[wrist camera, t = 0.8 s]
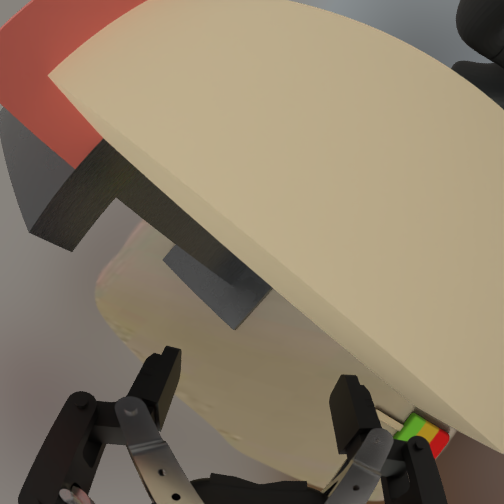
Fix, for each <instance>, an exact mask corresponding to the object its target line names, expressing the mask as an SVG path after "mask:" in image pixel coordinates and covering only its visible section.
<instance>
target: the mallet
mask: <svg viewBox="0 0 504 504" xmlns="http://www.w3.org/2000/svg"><path fill="white" fill-rule="evenodd" d="M0 104H1V105H2V106H4V107H5V108H6V109H7V110H8V111H9V112H10V113H11V114H12V115H13V116H14V117H15V118H17V119H18V120H19V121H20V122H21V123H22V124H23V125H24V126H25V127H27V128H28V129H29V130H30V131H31V132H32V133H33V134H34V135H36V136H37V137H38V138H39V139H40V140H41V141H42V142H44V143H45V144H46V145H47V146H48V147H49V148H51V149H52V150H53V151H54V152H55V153H56V154H58V155H59V156H60V157H61V158H62V159H64V160H65V161H66V162H67V163H68V164H70V165H71V166H72V167H73V168H74V169H76V168H77V167H78V166H79V164H80V163H81V162H82V161H83V160H84V159H85V157H86V156H87V155H88V154H89V153H90V152H91V151H92V150H93V149H94V148H95V146H96V145H97V144H98V143H99V142H100V141H101V140H102V139H103V138H104V139H105V140H106V141H107V142H108V143H109V144H110V145H111V146H112V147H114V148H115V149H116V150H117V151H118V152H119V153H120V154H121V155H122V156H124V157H125V158H126V159H127V160H128V161H129V162H130V163H131V164H132V165H134V166H135V167H136V168H137V169H138V170H139V171H140V172H141V173H142V174H144V175H145V176H146V177H147V178H148V179H149V180H150V181H151V182H152V183H154V184H155V185H156V186H157V187H158V188H159V189H160V190H161V191H163V192H164V193H165V194H166V195H167V196H168V197H169V198H170V199H172V200H173V201H174V202H175V203H176V204H177V205H178V206H179V207H181V208H182V209H183V210H184V211H185V212H186V213H187V214H188V215H190V216H191V217H192V218H193V219H194V220H195V221H196V222H198V223H199V224H200V225H201V226H202V227H203V228H204V229H206V230H207V231H208V232H209V233H210V234H211V235H212V236H214V237H215V238H216V239H217V240H218V241H219V242H220V243H222V244H223V245H224V246H225V247H226V248H227V249H228V250H230V251H231V252H232V253H233V254H234V255H235V256H236V257H238V258H239V259H240V260H241V261H242V262H243V263H245V264H246V265H247V266H248V267H249V268H250V269H252V270H253V271H254V272H255V273H256V274H257V275H258V276H260V277H261V278H262V279H263V280H264V281H265V282H267V283H268V284H269V285H270V286H271V287H272V288H274V289H275V290H276V291H277V292H278V293H279V294H281V295H282V296H283V297H284V298H285V299H286V300H288V301H289V302H290V303H291V304H292V305H294V306H295V307H296V308H297V309H298V310H299V311H301V312H302V313H303V314H304V315H305V316H306V317H308V318H309V319H310V320H311V321H312V322H314V323H315V324H316V325H317V326H318V327H320V328H321V329H322V330H323V331H324V332H325V333H327V334H328V335H329V336H330V337H331V338H333V339H334V340H335V341H336V342H337V343H339V344H340V345H341V346H342V347H343V348H345V349H346V350H347V351H348V352H349V353H351V354H352V355H353V356H354V357H355V358H357V359H358V360H359V361H360V362H361V363H363V364H364V365H365V366H366V367H367V368H369V369H370V370H371V371H372V372H373V373H375V374H376V375H377V376H378V377H379V378H381V379H382V380H383V381H384V382H386V383H387V384H388V385H389V386H390V387H392V388H393V389H394V390H395V391H397V392H398V393H399V394H400V395H401V396H403V397H404V398H405V399H406V400H408V401H409V402H410V403H411V404H413V405H414V406H415V407H417V408H419V409H421V410H422V411H424V412H426V413H428V414H429V415H431V416H433V417H435V418H436V419H438V420H440V421H442V422H443V423H445V424H447V425H449V426H451V427H452V428H454V429H456V430H458V431H460V432H462V433H463V434H465V435H467V436H469V437H471V438H473V439H475V440H477V441H479V442H480V443H482V444H484V445H486V446H488V447H490V448H492V449H494V450H496V451H498V452H500V453H502V454H504V110H503V109H502V108H501V107H500V106H499V105H498V104H497V103H495V102H494V101H493V100H492V99H491V98H489V97H488V96H487V95H486V94H484V93H483V92H482V91H481V90H479V89H478V88H477V87H475V86H474V85H473V84H472V83H470V82H469V81H467V80H466V79H465V78H463V77H462V76H460V75H459V74H458V73H456V72H455V71H453V70H452V69H450V68H448V67H447V66H445V65H444V64H442V63H441V62H439V61H438V60H436V59H434V58H433V57H431V56H429V55H427V54H426V53H424V52H422V51H420V50H419V49H417V48H415V47H413V46H411V45H409V44H407V43H405V42H404V41H401V40H400V39H397V38H395V37H393V36H391V35H389V34H387V33H385V32H383V31H380V30H378V29H376V28H373V27H371V26H369V25H366V24H364V23H361V22H358V21H356V20H353V19H350V18H348V17H345V16H342V15H339V14H336V13H333V12H330V11H327V10H323V9H320V8H316V7H313V6H309V5H305V4H301V3H297V2H293V1H288V0H31V1H30V2H29V3H28V4H26V5H25V6H24V7H23V8H22V9H21V10H19V11H18V12H17V13H16V14H15V15H14V16H13V17H12V18H10V19H9V20H8V21H7V22H6V23H5V24H4V25H3V26H2V27H1V28H0Z"/></svg>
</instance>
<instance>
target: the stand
mask: <svg viewBox="0 0 504 504" xmlns="http://www.w3.org/2000/svg"><path fill="white" fill-rule="evenodd" d="M0 137H1V143H2V147H3V152H4V156H5V160H6V164H7V168H8V172H9V175H10V179H11V183H12V186H13V189H14V192H15V196H16V199H17V202H18V205H19V208H20V210H21V213H22V216H23V219H24V221H25V224H26V226H27V229H28V231H29V233H31V234H33V235H35V236H38V237H40V238H42V239H44V240H46V241H49V242H51V243H53V244H55V245H57V246H59V247H62V248H64V249H66V250H69V251H71V252H73V250H74V249H75V247H76V246H77V245H78V243H79V242H80V241H81V239H82V238H83V237H84V236H85V234H86V233H87V232H88V230H89V229H90V228H91V227H92V225H93V224H94V223H95V221H96V220H97V219H98V218H99V217H100V215H101V214H102V213H103V212H104V211H105V209H106V208H107V207H108V205H110V203H111V202H112V201H113V200H114V199H115V198H118V199H119V200H120V201H121V202H123V203H124V204H125V205H126V206H128V207H129V208H130V209H132V210H133V211H134V212H135V213H136V214H138V215H139V216H140V217H141V218H143V219H144V220H145V221H146V222H148V223H149V224H150V225H152V226H153V227H154V228H155V229H157V230H158V231H159V232H161V233H162V234H163V235H164V236H166V237H167V238H168V239H170V240H171V241H172V242H173V243H175V244H176V245H175V246H174V247H173V248H172V250H171V251H170V252H169V253H168V254H167V255H166V256H165V258H164V259H163V261H164V262H165V263H166V264H167V265H168V266H169V267H170V268H171V269H172V270H173V271H174V272H175V273H176V274H177V275H178V276H179V278H180V279H181V280H182V281H183V282H184V283H185V284H186V285H187V286H188V287H189V288H190V289H191V290H192V291H193V292H194V293H195V294H196V295H197V296H198V297H199V298H200V299H201V300H203V301H204V302H205V303H206V304H207V305H208V306H209V307H210V308H211V309H212V310H213V311H214V312H215V313H216V314H217V315H218V316H219V317H220V318H221V319H222V320H223V321H224V322H225V323H227V324H228V325H229V326H230V327H231V328H232V329H233V330H236V329H237V328H238V327H239V326H240V325H241V324H242V323H243V321H244V320H245V319H246V318H247V317H248V316H249V315H250V314H251V313H252V312H253V310H254V309H255V308H256V307H257V306H258V305H259V304H260V303H261V302H262V300H263V299H264V298H265V297H266V296H267V295H268V294H269V292H270V291H271V290H272V289H273V288H272V287H271V286H270V285H269V284H268V283H267V282H265V281H264V280H263V279H262V278H261V277H260V276H258V275H257V274H256V273H255V272H254V271H253V270H252V269H250V268H249V267H248V266H247V265H246V264H245V263H243V262H242V261H241V260H240V259H239V258H238V257H236V256H235V255H234V254H233V253H232V252H231V251H230V250H228V249H227V248H226V247H225V246H224V245H223V244H222V243H220V242H219V241H218V240H217V239H216V238H215V237H214V236H212V235H211V234H210V233H209V232H208V231H207V230H206V229H204V228H203V227H202V226H201V225H200V224H199V223H198V222H196V221H195V220H194V219H193V218H192V217H191V216H190V215H188V214H187V213H186V212H185V211H184V210H183V209H182V208H181V207H179V206H178V205H177V204H176V203H175V202H174V201H173V200H172V199H170V198H169V197H168V196H167V195H166V194H165V193H164V192H163V191H161V190H160V189H159V188H158V187H157V186H156V185H155V184H154V183H152V182H151V181H150V180H149V179H148V178H147V177H146V176H145V175H144V174H142V173H141V172H140V171H139V170H138V169H137V168H136V167H135V166H134V165H132V164H131V163H130V162H129V161H128V160H127V159H126V158H125V157H124V156H122V155H121V154H120V153H119V152H118V151H117V150H116V149H115V148H114V147H112V146H111V145H110V144H109V143H108V142H107V141H106V140H105V139H104V138H103V139H102V140H101V141H100V142H99V143H98V144H97V145H96V146H95V148H94V149H93V150H92V151H91V152H90V153H89V154H88V155H87V156H86V157H85V159H84V160H83V161H82V162H81V163H80V164H79V166H78V167H77V168H76V169H74V168H73V167H72V166H71V165H70V164H68V163H67V162H66V161H65V160H64V159H62V158H61V157H60V156H59V155H58V154H56V153H55V152H54V151H53V150H52V149H51V148H49V147H48V146H47V145H46V144H45V143H44V142H42V141H41V140H40V139H39V138H38V137H37V136H36V135H34V134H33V133H32V132H31V131H30V130H29V129H28V128H27V127H25V126H24V125H23V124H22V123H21V122H20V121H19V120H18V119H17V118H15V117H14V116H13V115H12V114H11V113H10V112H9V111H8V110H7V109H6V108H5V107H3V108H2V110H1V111H0Z"/></svg>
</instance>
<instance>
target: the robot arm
mask: <svg viewBox="0 0 504 504" xmlns="http://www.w3.org/2000/svg"><path fill="white" fill-rule="evenodd" d="M456 25H457V30H458V33H459V35H460V37H461V38H462V40H463V41H464V42H465V43H466V44H467V45H468V46H469V47H471V48H472V49H474V50H475V51H477V52H478V53H479V54H481V55H482V56H484V57H486V58H487V59H489V60H491V61H492V62H494V63H488V64H487V63H486V64H485V63H476V62H470V61H458V62H456V63H455V64H454V65H453V66H452V68H451V69H452V70H453V71H455V72H456V73H458V74H459V75H460V76H462V77H463V78H465V79H466V80H467V81H469V82H470V83H472V84H473V85H474V86H475V87H477V88H478V89H479V90H481V91H482V92H483V93H484V94H486V95H487V96H488V97H489V98H491V99H492V100H493V101H494V102H495V103H497V104H498V105H499V106H500V107H501V108H502V109H503V110H504V0H460V3H459V6H458V9H457V14H456ZM180 372H181V349H178V348H174V347H170V346H166V347H165V349H164V351H163V353H162V355H160V354H156V353H153V354H152V355H151V356H149V357H148V358H147V359H146V360H145V362H144V364H143V367H142V368H141V370H140V372H139V374H138V376H137V377H136V380H135V381H134V383H133V385H132V387H131V389H130V391H129V393H128V395H127V396H126V397H123V398H121V399H119V400H118V401H117V402H102V401H96V399H95V398H94V396H92V395H91V394H90V393H87V392H83V391H82V392H81V391H79V392H75V393H73V394H72V395H70V396H69V398H68V399H67V401H66V403H65V404H64V406H63V408H62V410H61V412H60V413H59V415H58V417H57V419H56V420H55V422H54V424H53V426H52V428H51V430H50V431H49V433H48V435H47V437H46V439H45V441H44V443H43V445H42V447H41V449H40V451H39V453H38V455H37V457H36V459H35V461H34V463H33V465H32V467H31V469H30V472H29V474H28V476H27V478H26V481H25V482H24V485H23V487H22V489H21V492H20V494H19V497H18V503H19V504H95V503H94V501H93V500H91V498H90V497H89V496H88V493H89V490H90V488H91V485H92V481H93V479H94V476H95V473H96V470H97V467H98V465H99V462H100V459H101V456H102V454H103V451H104V448H105V446H106V444H117V445H126V447H127V449H128V452H129V454H130V457H131V459H132V461H133V463H134V466H135V468H136V470H137V472H138V474H139V477H140V479H141V481H142V483H143V485H144V487H145V489H146V491H147V493H148V495H149V497H150V499H151V501H152V504H366V503H367V501H368V499H369V497H370V496H371V494H372V492H373V490H374V489H375V487H376V485H377V483H378V481H379V479H380V477H381V482H382V488H383V494H384V501H385V504H447V500H446V496H445V493H444V489H443V485H442V482H441V478H440V475H439V472H438V469H437V466H436V463H435V459H434V456H433V453H432V450H431V447H430V444H429V442H428V441H427V440H426V439H425V438H424V437H422V436H412V437H411V438H410V439H409V440H408V441H403V440H398V439H393V437H392V435H391V434H390V433H389V432H388V431H387V430H385V429H382V427H381V424H380V421H379V418H378V415H377V412H376V409H375V407H374V403H373V401H372V398H371V395H370V392H369V391H368V390H367V388H366V387H365V386H364V385H360V383H359V381H358V378H357V376H356V375H341V376H340V378H339V380H338V382H337V384H336V385H335V387H334V389H333V391H332V393H331V395H330V400H329V405H330V410H331V415H332V420H333V426H334V431H335V436H336V442H337V447H338V453H339V454H347V459H346V460H345V461H344V463H343V464H342V466H341V467H340V468H339V470H338V471H337V473H336V474H335V476H334V477H333V478H332V480H331V481H330V482H329V484H328V485H327V486H326V487H325V488H324V489H323V490H322V491H321V492H320V491H318V490H315V489H313V488H310V487H307V481H281V482H275V483H268V484H256V483H253V482H250V481H247V480H244V479H241V478H237V477H234V476H227V475H220V474H214V473H211V475H210V478H202V479H196V480H193V481H189V480H188V478H187V477H186V475H185V473H184V472H183V470H182V468H181V467H180V465H179V463H178V462H177V460H176V458H175V456H174V454H173V453H172V451H171V449H170V447H169V446H168V444H167V443H166V441H163V439H162V438H161V436H160V434H159V432H158V431H160V432H161V430H162V427H163V424H164V421H165V418H166V415H167V412H168V410H169V407H170V404H171V401H172V398H173V396H174V393H175V390H176V387H177V385H178V382H179V378H180ZM407 473H408V474H407ZM408 477H409V478H408ZM409 481H410V482H409Z"/></svg>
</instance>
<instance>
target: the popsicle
mask: <svg viewBox="0 0 504 504" xmlns="http://www.w3.org/2000/svg"><path fill="white" fill-rule="evenodd" d="M376 412H377V415H378V418H379V419H380V420H381V421H383V422H385V423H386V424H388V425H390V426H391V427H393V428H395V429H396V430H398V432H397V433H396V434H395V435H394V437H393V439H398V440H403V441H408V440H409V439H410V438H411V437H412V436H422V437H424V438H425V439H426V440H427V441H428V442H429V444H430V447H431V450H432V453H433V456H434V459H435V458H436V457H437V456H438V455H439V453H440V452H441V451H442V450H443V448H444V447H445V446H446V444H447V443H448V441H449V434H448V433H447V432H445V431H443V430H442V429H440V428H438V427H437V426H435V425H433V424H432V423H430V422H428V421H427V420H425V419H424V418H422V417H420V416H419V415H417V414H416V413H411V415H410V416H409V417H408V419H407V420H406V421H405V423H404V424H403V425H402V424H400V423H399V422H397V421H395V420H394V419H392V418H390V417H389V416H387V415H385V414H384V413H382V412H381V411H379V410H377V409H376Z"/></svg>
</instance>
